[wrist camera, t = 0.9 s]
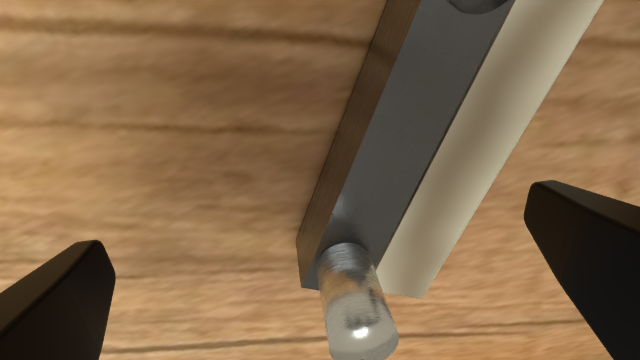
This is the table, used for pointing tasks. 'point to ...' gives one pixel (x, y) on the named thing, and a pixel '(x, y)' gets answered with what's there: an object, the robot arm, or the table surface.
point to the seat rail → (481, 136)
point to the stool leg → (386, 160)
